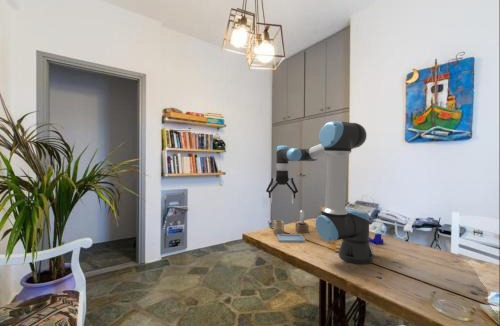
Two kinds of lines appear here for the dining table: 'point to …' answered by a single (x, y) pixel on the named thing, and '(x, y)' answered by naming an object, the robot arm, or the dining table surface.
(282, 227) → the block
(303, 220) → the silver metal rod
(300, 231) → the brown hollow block
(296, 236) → the tray
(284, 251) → the dining table surface
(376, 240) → the cable clip
